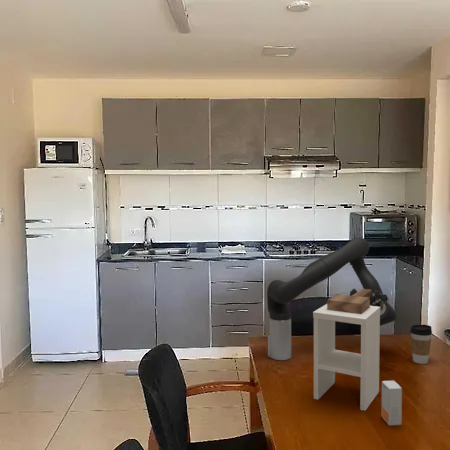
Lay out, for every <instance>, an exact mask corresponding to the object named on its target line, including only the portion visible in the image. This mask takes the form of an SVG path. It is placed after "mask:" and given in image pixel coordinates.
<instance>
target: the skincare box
mask: <svg viewBox="0 0 450 450" xmlns="http://www.w3.org/2000/svg"><path fill="white" fill-rule="evenodd" d="M402 394H403V388H402V387H401V386H400V384H398V383H397V382H396V381H395V380H383V381H381V417H382V418H383V420H384V421H385V422H386V423H387V425H388V426H402V419H403V418H402V417H403V416H402V415H403V414H402V413H403V411H402V407H403V395H402Z"/></svg>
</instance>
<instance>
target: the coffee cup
mask: <svg viewBox="0 0 450 450" xmlns="http://www.w3.org/2000/svg"><path fill="white" fill-rule="evenodd" d="M409 333H410V334H411V337H410V339H411V340H410V341H411V351H412V353H411V354H412V361H413V362H414V363H416V364H420V365H426V364H428V363H429V357H430V350H431V341H432V338H431V336H432V335H433V330H432V326H431V325H428V324H413V325H411V326H410V331H409Z"/></svg>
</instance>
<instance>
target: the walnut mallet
mask: <svg viewBox="0 0 450 450" xmlns="http://www.w3.org/2000/svg"><path fill="white" fill-rule="evenodd" d="M371 296H372V290H370V289H363V288H361V289H360V290H359V291H357V293H355V294H354V295H352V296H350V294H349V295H348V294H342V293H341V294H338V293H336V294H335V295H332V296H331V297H329V298H328V299H327V301H326V304H327V310H334V311H341V312H349V313H356V314H362V313H363V312H365V311H366V310H367V309H368V308H370V298H369V297H371Z"/></svg>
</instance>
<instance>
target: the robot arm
mask: <svg viewBox="0 0 450 450" xmlns="http://www.w3.org/2000/svg"><path fill="white" fill-rule="evenodd" d="M369 251H370V244H369V241H368V240H366V239H365V238H363V237H354V238H352V239H351V240H350V241H348V242H347V243H346V244H345V245H343V246H341V247H340V248H338V249H336V250H334V251H331V252H330V253H327V254H325V255H324V256H322V257H319V258H318V259H316V260H314V261H311V263H309V264H307V266H306V267H305V268H304V269H303V270H302V272H301V273H300V274H299V275H298V276H296V277H295V278H292V279H290V280H288V281H283V280H279V279H274V280H272V281H270V283H268V287H267V290H266V300H267V302H266V303H267V304H266V305H267V311H268V314H269V334H268V335H267V357H268V358H271V359H272V360H276V361H286V360H289V359H291V358H292V313H291V309H290V308H289V306H288V304H289V303H291V302H292V301H293V300H295V299H296V298H297V297H299V296H300V295H301V294H303V293H304V292H306V291H308V290H310V289H311V288H313V287H314V286H316V285H318V284H319V283H321V282H323V281H325V280H327V279H329V278H330V277H332V276H333V275H335V274H336V273H337V272H339V271H340V270H341V269H342V268H344V266H346V265H347V264H349V265H350V266H351V268H352V269H353V271H354V273H355V274H356V277H357V278H358V281H359V282H360V284H361V286H362V289H370V290H372V296H371V297H369V298H370V306H377V307H380V326H383V325H388V324H390V323H393V322H395V321H396V320H397V317H398V316H397V313H396V311H395V309H394V308H393V307H392V306H391V304H390V303H389V299H390V298H389V296H388V295H387V294H384V292H383V290H382V288H381V285H380V283H379V282H378V280H377V279H376V277H375V276H374V275H373V274H372V273H371V271H370V270H369V268H368V267H367V265H366V262H365V259H364V257H365V256H366V255H367V254H368V253H369ZM357 292H358V291H357V289H356V288H352V289H351V290H350V293H349V295H350V296H352V295H354V294H355V293H357Z"/></svg>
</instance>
